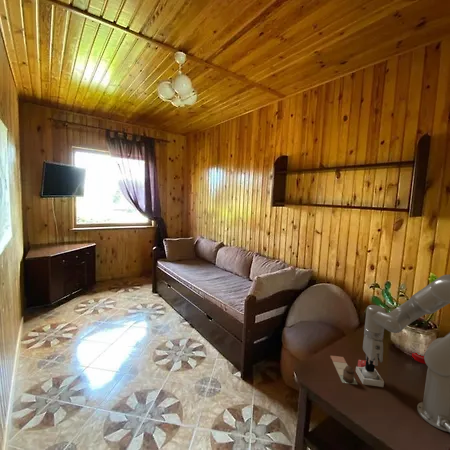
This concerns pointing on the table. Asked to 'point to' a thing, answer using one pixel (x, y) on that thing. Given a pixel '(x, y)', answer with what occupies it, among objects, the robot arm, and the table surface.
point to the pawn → (348, 374)
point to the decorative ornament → (418, 358)
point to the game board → (342, 365)
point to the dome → (369, 374)
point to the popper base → (367, 381)
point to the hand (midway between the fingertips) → (369, 370)
